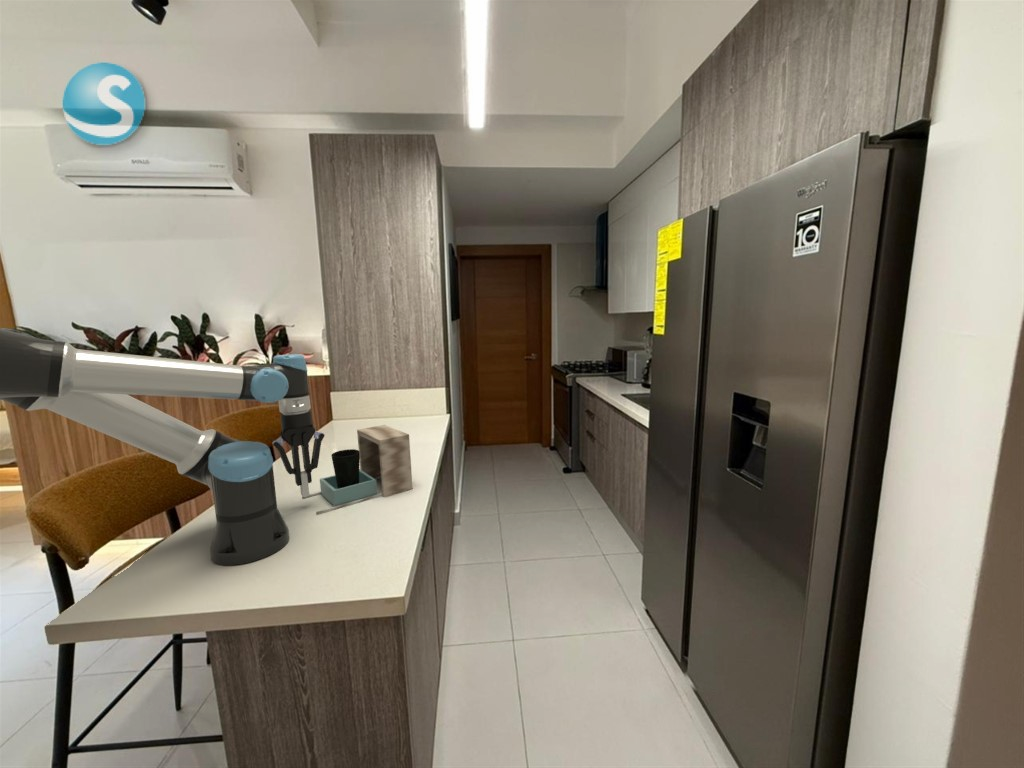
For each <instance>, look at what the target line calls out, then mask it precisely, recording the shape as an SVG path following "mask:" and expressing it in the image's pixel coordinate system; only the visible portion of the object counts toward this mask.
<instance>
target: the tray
mask: <svg viewBox="0 0 1024 768" xmlns="http://www.w3.org/2000/svg"><path fill="white" fill-rule="evenodd" d="M319 485H320V492H321V494H320V495H321V496H323V497H324V498H325V499H326V500H327V501H328V502H329V503H330V504H331V505H332V507H335V506H339V505H342V504H346V503H349V502H352V501H356V500H359V499H363V498H366V497H370V496H373V495H377V494H378V487H377V486H378V485H377V479H374V478H373V477H371V476H369V475H368V474H366V473H365V472H363V471H362V470H360V468H359V484H355V485H351V486H347V487H344V488H340V489H338V487H337V482H336V477H335V474H334V475H330V476H326V477H322V478H319Z"/></svg>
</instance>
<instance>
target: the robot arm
mask: <svg viewBox="0 0 1024 768" xmlns="http://www.w3.org/2000/svg"><path fill="white" fill-rule="evenodd" d="M272 359H273V361H272V363H267V364H255V365H254V364H253V365H237V364H228V363H227V364H226V363H217V362H207V361H197V360H190V359H189V360H188V359H177V358H168V357H158V356H149V355H148V356H147V355H138V354H129V353H118V352H110V351H109V352H108V351H100V350H99V351H98V350H90V349H89V350H87V349H79V348H76V347H74V346H73V345H72V344H71V343H69V342H68V341H67V342H66V341H58V340H52V339H51V340H50V339H44V338H43V339H42V338H38V337H35V336H33V335H31V334H29V333H26V332H22V331H18V330H16V329H9V328H0V400H1V401H3V402H6V403H8V404H11V405H13V406H14V407H15V406H16V407H18V408H20V409H22V410H25V411H26V412H27V411H28V412H30V411H37V410H48V411H50V412H52V413H55V414H57V415H60V416H62V417H65V418H67V419H70V420H72V421H73V422H76V423H79V424H81V425H84V426H85V427H88V428H90V429H93V430H95V431H97V432H100V433H101V434H104V435H107V436H110V437H111V438H114V439H116V440H119V441H120V442H123V443H126V444H128V445H130V446H132V447H135V448H137V449H139V450H142V451H144V452H147V453H149V454H152V455H154V456H155V457H158V458H160V459H162V460H165V461H168V462H170V463H172V464H175V466H176V470H177V472H178V474H180V475H181V476H184V477H186V478H189V479H191V480H194V481H196V482H199V483H201V484H203V485H205V486H207V487H208V488H209V489H210V490H211V492H212V497H213V504H214V512H215V519H216V522H215V523H216V524H215V528H214V531H213V535H212V538H211V542H210V543H211V544H210V549H209V552H210V558H211V561H212V562H213V563H215V564H217V565H221V566H235V565H236V566H237V565H243V564H248V563H252V562H255V561H259V560H261V559H263V558H267V557H269V556H271V555H273V554H275V553H276V552H278V551H280V550H281V549H282V548H284V547H285V546H286V545H287V544H288V542H289V541H290V533H289V531H290V530H289V528H288V525H287V523H286V521H285V520H284V518H283V516H282V515H281V513H280V510H279V508H278V502H277V491H276V483H275V475H274V474H275V472H274V466H273V465H274V458H273V456H272V452H271V448H270V447H269V446H268V444H265V443H263V442H260V441H251V440H249V441H248V440H246V441H245V440H243V441H242V440H238V439H236V438H232V437H230V436H228V435H226V434H224V433H222V432H220V431H218V430H215V429H214V428H211V429H205V430H200V429H198V428H196V427H194V426H192V425H190V424H188V423H186V422H184V421H182V420H179V419H178V418H175V417H174V416H172V415H170V414H168V413H165V412H164V411H161V410H160V409H158V408H155V407H153V406H152V405H149V404H147V403H145V402H144V401H142V400H139V399H137V398H135V397H133V396H151V397H152V396H155V397H175V398H198V399H219V400H223V399H224V400H239V401H254V402H256V401H257V402H261V403H262V404H263V403H270V404H272V403H276V402H278V408H279V412H280V413H281V414H280V415H279V417H280V424H281V425H280V426H281V431H280V434H279V435H280V436H279V437H278V438H277V439H275V440H272V442H271V444H272V445H273V447H275V448H276V450H277V452H278V454H279V457H280V459H281V461H282V463H283V467H284V468H285V471H286V472H287V474H289V475H294V479H295V482H294V483H295V485H296V486H298V487H299V488H300V489H299V490H300V495H301V497H302V496H303V497H307V496H309V494H310V487H309V484H310V483H311V484H312V471H313V470H314V469H317V468H319V467H318V466H319V462H320V461H319V460H320V453H321V445H322V441H323V440H324V438H325V437H326V436H325V434H324V432H321V431H317V430H316V428H315V426H314V424H313V416H312V415H313V414H312V411H311V409H312V407H311V397H310V389H309V388H310V387H309V381H308V380H309V379H308V368H307V363H306V362H307V361H306V358H305V356H304V355H303V354H299V353H294V354H293V353H292V354H280V355H279V354H278V355H274V356H273V358H272ZM313 438H314V440H313V447H312V453H311V456H310V449H309V448H310V445H309V443H310V442H311V440H312V439H313ZM284 442H286V444H287V445H289V446H290V450H291V457H292V465H291V463H290V460H289V457H288V456H287V453H286V450H285V449H284V447H283V446H284ZM299 446H300V447H301V454H302V461H303V462H302V463H303V471H301V461H300V454H299V453H300V451H299V450H300V448H299ZM292 466H293V467H292Z"/></svg>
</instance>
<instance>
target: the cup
mask: <svg viewBox="0 0 1024 768" xmlns="http://www.w3.org/2000/svg"><path fill="white" fill-rule="evenodd" d="M359 458H360V451H359V449H354V448H353V449H342V450H338V451H334V452H333V453H331V459H332V460H331V461H332V466H333V470H334V475H335V477H336V482H337V487H338V489H340V488H344V487H347V486H351V485H355V484H359V469H360V459H359Z"/></svg>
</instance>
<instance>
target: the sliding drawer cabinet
mask: <svg viewBox="0 0 1024 768" xmlns="http://www.w3.org/2000/svg"><path fill="white" fill-rule="evenodd" d="M356 432H357V433H356V434H357V444H358V445H357V446H358V450H359V451H360V458H359V469H360V470H362V471H363V472H365V473H366V474H368V475H369V476H371V477H373V478H374V479H376V480H380V481H381V491H382V492H380V493H377V495H373V496H370V497H366V498H363V499H359V500H356V501H352V502H349V503H346V504H342V505H339V506H335V507H334V506H332V507H329V508H324V509H321V510H318V511H316V513H315V514H316V515H321V514H325V513H328V512H333V511H334V510H335V511H336V510H338V509H341V508H345V507H348V506H349V507H350V506H352V505H355V504H359V503H362V502H367V501H369V500H371V499H373V500H374V499H376V498H379V497H383V498H386V497H391V496H394V495H396V494H400V493H404V492H407V491H410V490H413V488H414V487H413V475H412V461H411V460H412V458H411V443H410V442H411V441H410V434H408V433H406V432H404V431H401V430H398V429H397V428H394V427H391V426H388V425H386V424H381V425H376V426H371V427H365V428H359V429H356ZM320 495H322V494H321V491H318V492H313V493H309V496H307V497H303V496H302V495H301V498H302V499H308V498H311V497H315V496H320Z"/></svg>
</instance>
